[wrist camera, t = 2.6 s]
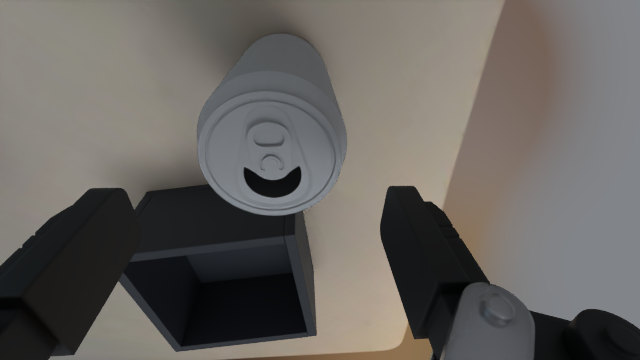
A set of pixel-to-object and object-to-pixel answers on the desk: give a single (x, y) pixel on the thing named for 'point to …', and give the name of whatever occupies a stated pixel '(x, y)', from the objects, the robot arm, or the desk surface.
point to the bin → (220, 271)
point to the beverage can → (273, 129)
